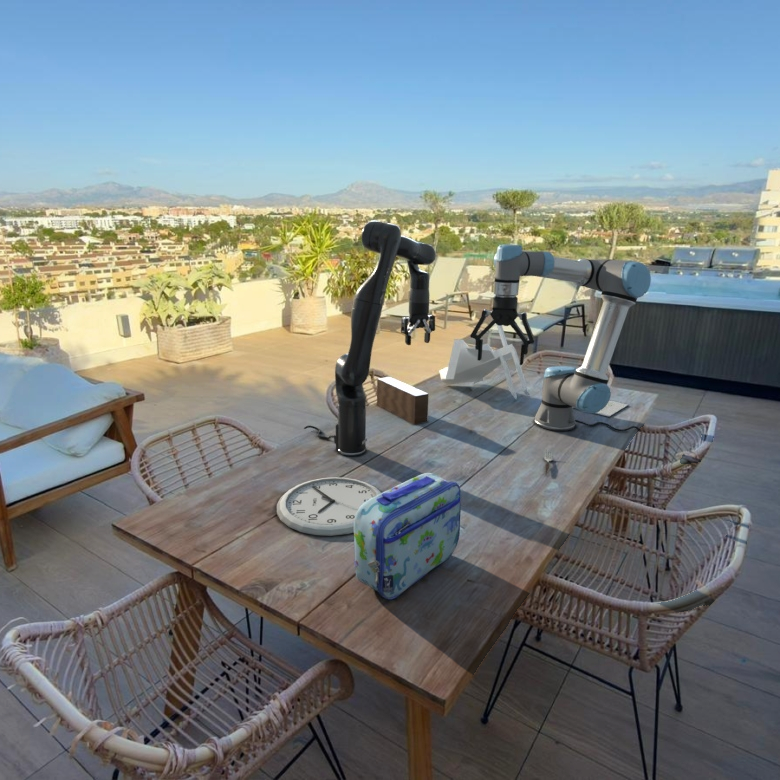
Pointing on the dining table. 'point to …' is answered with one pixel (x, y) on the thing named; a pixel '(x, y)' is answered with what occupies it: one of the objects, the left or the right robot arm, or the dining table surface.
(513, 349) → the white plastic object
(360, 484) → the wall clock
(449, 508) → the lunch box
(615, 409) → the invitation card
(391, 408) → the box
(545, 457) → the fork
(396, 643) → the dining table surface
